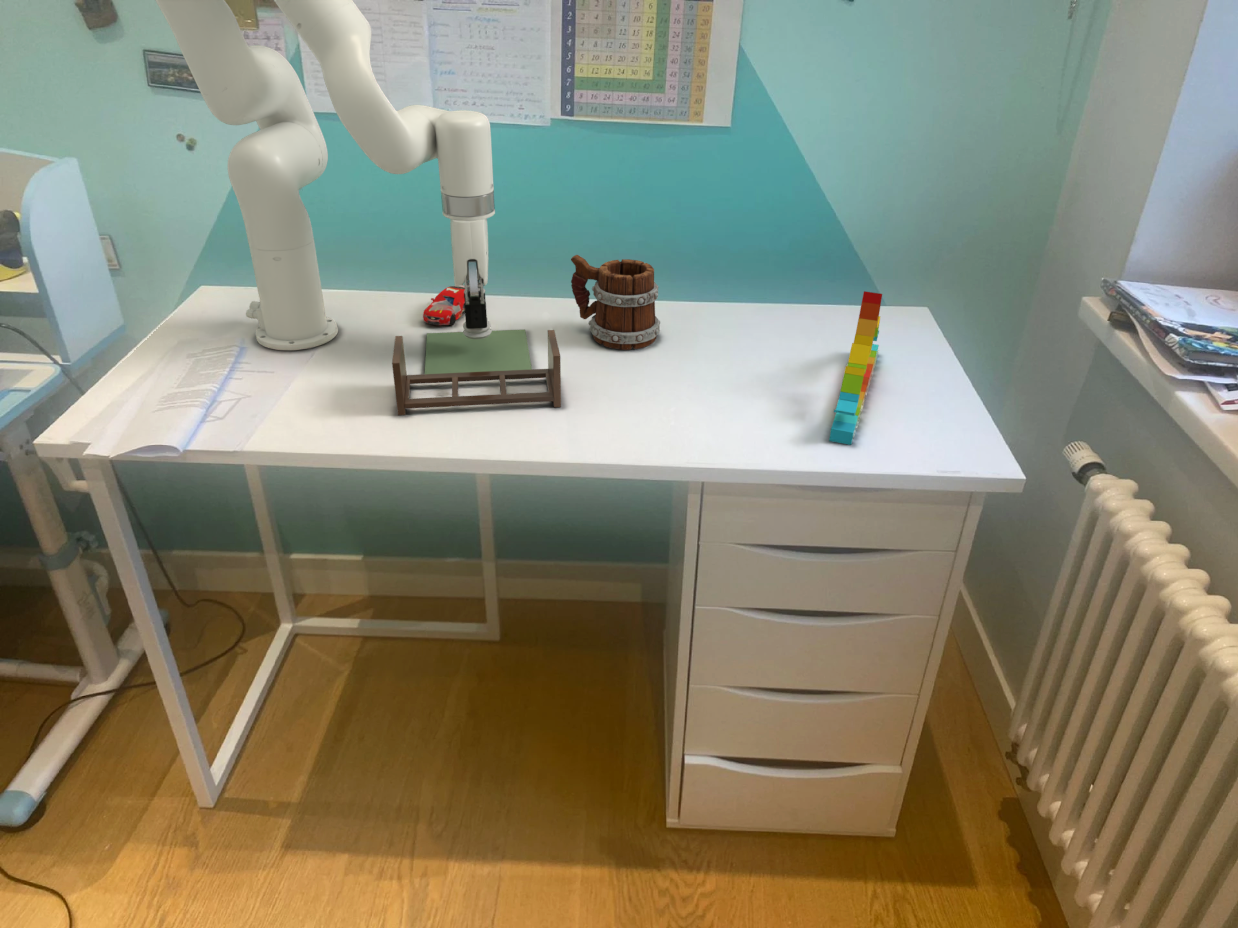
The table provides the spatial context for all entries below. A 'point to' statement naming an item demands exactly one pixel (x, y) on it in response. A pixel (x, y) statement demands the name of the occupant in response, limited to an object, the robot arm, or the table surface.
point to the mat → (477, 352)
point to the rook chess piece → (477, 332)
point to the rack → (404, 380)
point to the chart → (858, 371)
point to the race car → (446, 306)
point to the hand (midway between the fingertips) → (476, 321)
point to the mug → (618, 302)
